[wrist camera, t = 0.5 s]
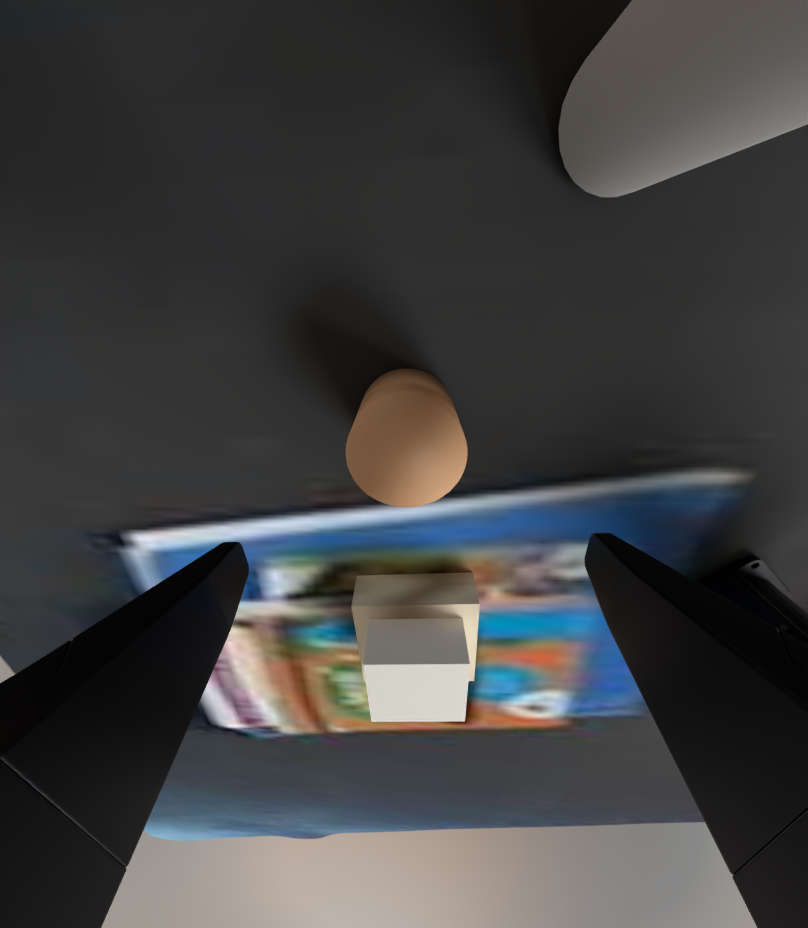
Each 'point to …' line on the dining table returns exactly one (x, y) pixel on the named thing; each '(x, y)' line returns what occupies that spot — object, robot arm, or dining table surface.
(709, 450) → the dining table surface
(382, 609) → the birch slab
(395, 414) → the tan cylinder
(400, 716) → the white block
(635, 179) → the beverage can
